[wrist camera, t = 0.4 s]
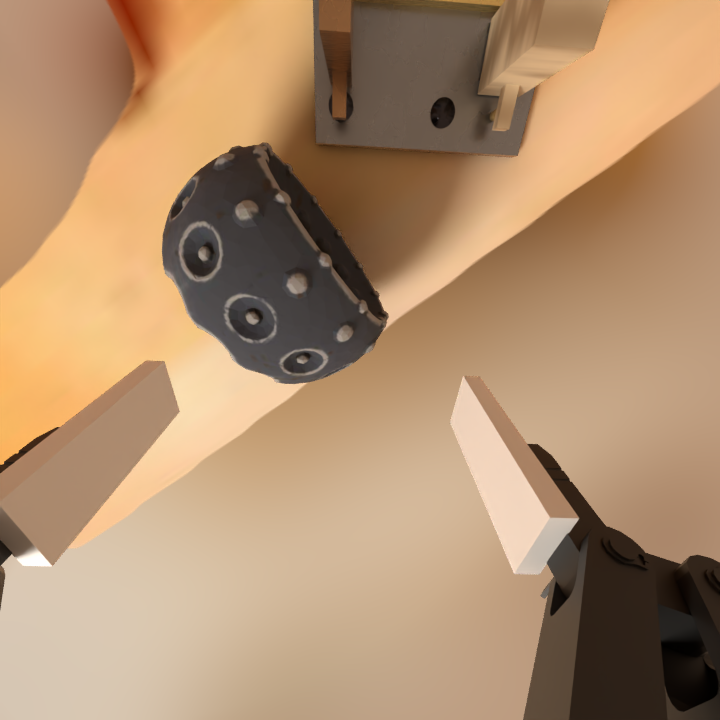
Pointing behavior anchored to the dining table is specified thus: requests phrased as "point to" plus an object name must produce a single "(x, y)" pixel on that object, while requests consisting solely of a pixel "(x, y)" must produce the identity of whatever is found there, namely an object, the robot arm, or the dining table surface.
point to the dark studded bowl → (269, 270)
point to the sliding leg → (534, 47)
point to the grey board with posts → (408, 77)
